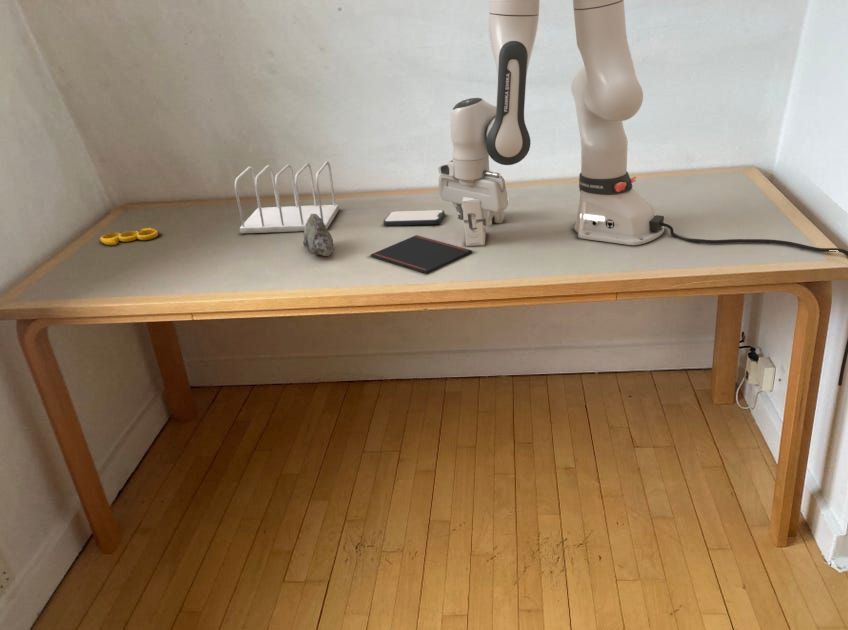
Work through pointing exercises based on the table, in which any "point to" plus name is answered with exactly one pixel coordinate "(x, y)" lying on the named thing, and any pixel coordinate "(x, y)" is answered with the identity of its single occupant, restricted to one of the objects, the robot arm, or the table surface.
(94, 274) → the table surface
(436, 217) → the smartphone
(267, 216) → the file sorter
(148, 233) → the yellow linked rings
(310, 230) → the mineral rock
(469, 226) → the ink box
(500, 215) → the elephant figurine
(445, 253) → the mat
